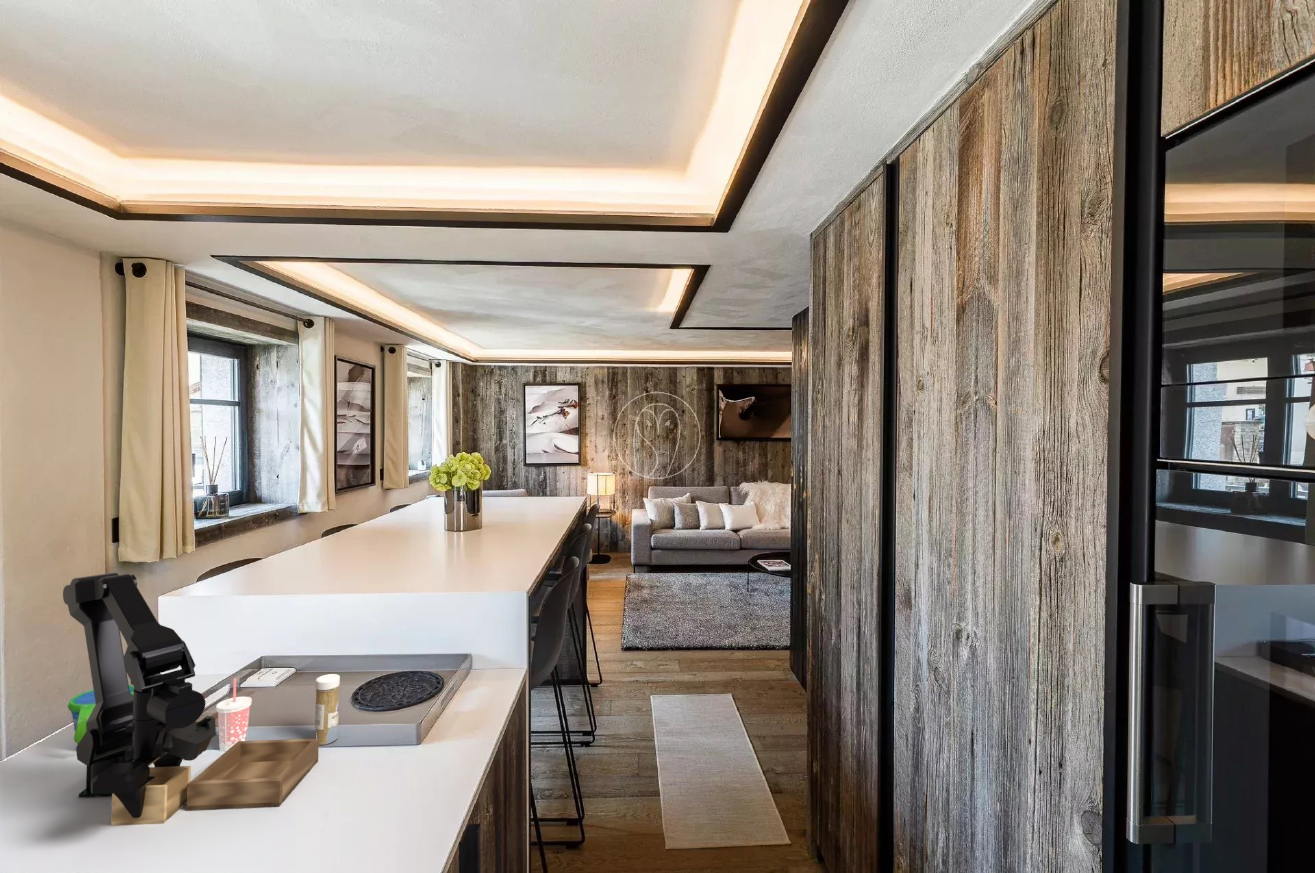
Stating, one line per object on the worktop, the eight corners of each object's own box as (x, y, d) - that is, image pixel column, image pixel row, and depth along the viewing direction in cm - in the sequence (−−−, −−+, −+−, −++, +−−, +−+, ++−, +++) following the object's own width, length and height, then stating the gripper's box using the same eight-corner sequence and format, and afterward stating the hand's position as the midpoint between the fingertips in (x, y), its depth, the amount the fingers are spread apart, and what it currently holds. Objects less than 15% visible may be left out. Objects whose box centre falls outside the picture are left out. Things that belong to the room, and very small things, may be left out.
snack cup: (98, 727, 132) (100, 681, 132) (154, 723, 134) (155, 678, 134) (43, 765, 116) (44, 712, 116) (107, 760, 119) (108, 708, 119)
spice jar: (339, 742, 127) (341, 678, 127) (314, 747, 125) (316, 683, 125) (337, 733, 131) (338, 671, 131) (313, 738, 129) (314, 675, 129)
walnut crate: (186, 810, 103) (187, 784, 103) (237, 763, 118) (238, 740, 118) (279, 806, 105) (280, 780, 105) (318, 761, 120) (318, 738, 120)
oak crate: (111, 825, 99) (112, 788, 99) (140, 801, 105) (141, 767, 105) (163, 822, 100) (164, 786, 100) (189, 799, 106) (190, 765, 106)
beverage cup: (257, 738, 128) (259, 672, 128) (238, 753, 122) (240, 684, 122) (228, 738, 128) (230, 672, 128) (207, 753, 122) (209, 684, 122)
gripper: (167, 738, 94) (164, 838, 94) (237, 689, 113) (234, 773, 113) (89, 740, 93) (86, 842, 93) (173, 691, 112) (170, 775, 112)
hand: (152, 804), depth 103 cm, fingers closed on oak crate, 6 cm apart
